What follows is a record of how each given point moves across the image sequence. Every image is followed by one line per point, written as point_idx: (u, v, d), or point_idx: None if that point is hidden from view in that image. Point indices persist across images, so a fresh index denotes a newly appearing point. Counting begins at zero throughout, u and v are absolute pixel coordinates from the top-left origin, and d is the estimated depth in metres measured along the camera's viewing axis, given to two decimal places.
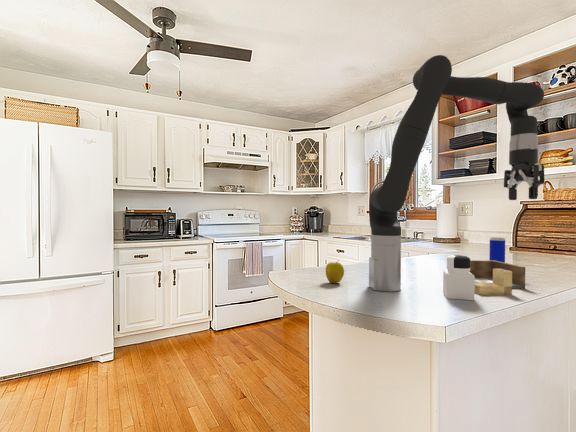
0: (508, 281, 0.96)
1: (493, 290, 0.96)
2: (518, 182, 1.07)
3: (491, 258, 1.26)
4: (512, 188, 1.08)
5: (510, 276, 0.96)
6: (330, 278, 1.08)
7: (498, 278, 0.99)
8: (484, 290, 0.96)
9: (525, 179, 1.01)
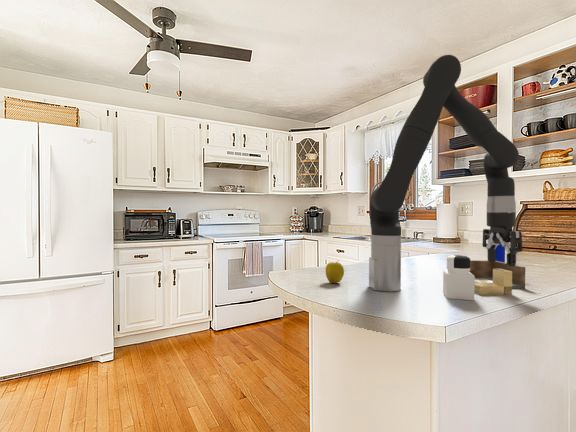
0: (508, 281, 0.97)
1: (493, 290, 0.96)
2: (497, 243, 1.02)
3: None
4: (491, 249, 1.03)
5: (510, 276, 0.97)
6: (330, 278, 1.08)
7: (498, 278, 0.99)
8: (484, 290, 0.96)
9: (502, 244, 0.96)
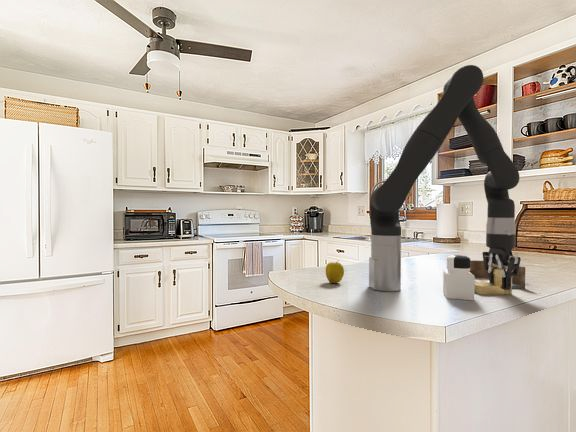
0: None
1: (493, 289, 0.96)
2: (498, 265, 1.01)
3: None
4: None
5: None
6: (330, 278, 1.08)
7: (498, 278, 0.99)
8: (484, 290, 0.96)
9: (499, 267, 0.97)
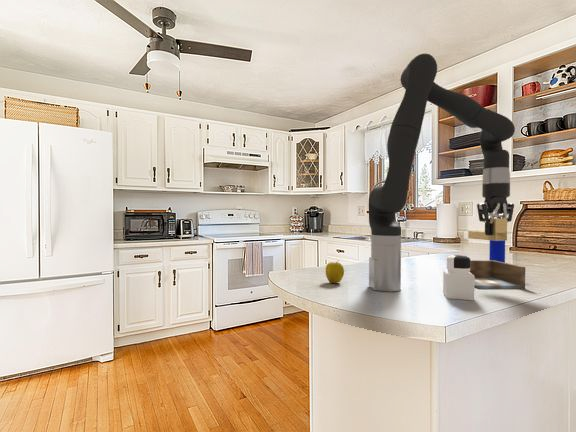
0: None
1: (479, 235, 1.07)
2: (502, 215, 1.04)
3: (491, 258, 1.26)
4: None
5: (494, 223, 1.02)
6: (330, 278, 1.08)
7: None
8: (472, 234, 1.09)
9: None
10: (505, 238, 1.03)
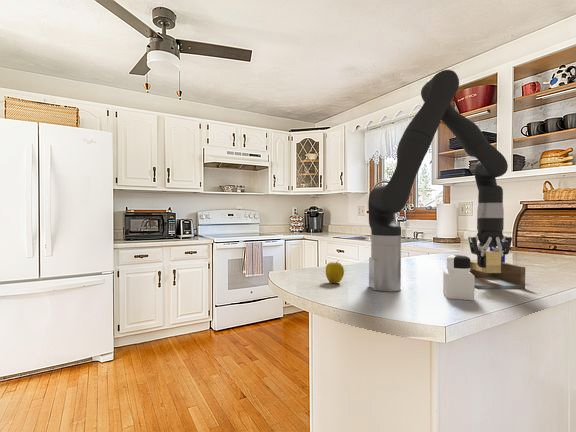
0: None
1: (475, 265, 1.11)
2: (497, 248, 1.07)
3: None
4: None
5: (485, 256, 1.06)
6: (330, 278, 1.08)
7: None
8: (470, 265, 1.14)
9: None
10: (499, 271, 1.06)
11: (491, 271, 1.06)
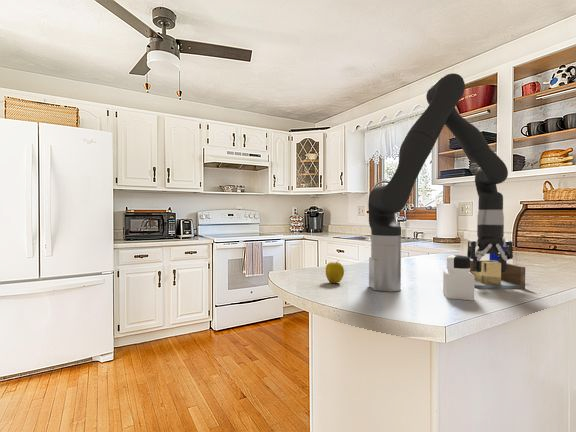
0: (483, 271, 1.07)
1: (475, 276, 1.11)
2: (500, 254, 1.07)
3: (491, 258, 1.26)
4: (500, 260, 1.08)
5: (485, 267, 1.06)
6: (330, 278, 1.08)
7: None
8: None
9: None
10: (499, 282, 1.06)
11: (491, 282, 1.06)
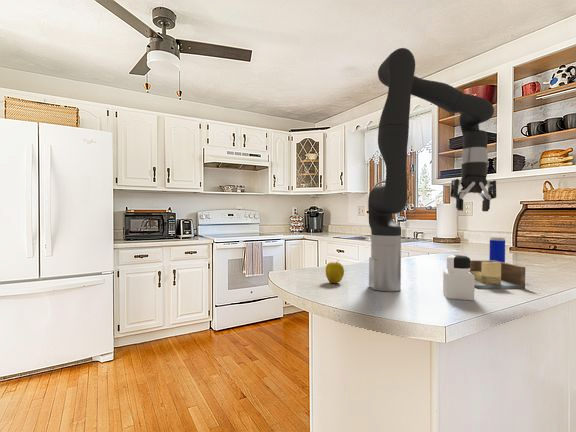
0: (483, 271, 1.07)
1: (475, 276, 1.11)
2: (483, 193, 1.06)
3: (491, 258, 1.26)
4: (484, 199, 1.08)
5: (485, 267, 1.06)
6: (330, 278, 1.08)
7: None
8: None
9: None
10: (499, 282, 1.06)
11: (491, 282, 1.06)
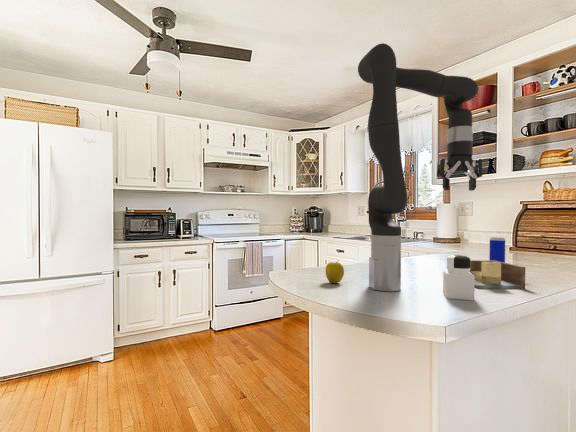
0: (483, 271, 1.07)
1: (475, 276, 1.11)
2: (469, 172, 1.07)
3: (491, 258, 1.26)
4: (470, 178, 1.08)
5: (485, 267, 1.06)
6: (330, 278, 1.08)
7: None
8: None
9: None
10: (499, 282, 1.06)
11: (491, 282, 1.06)
